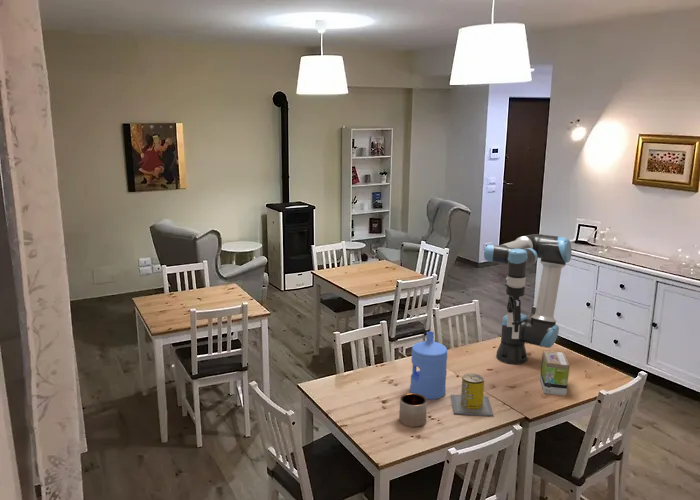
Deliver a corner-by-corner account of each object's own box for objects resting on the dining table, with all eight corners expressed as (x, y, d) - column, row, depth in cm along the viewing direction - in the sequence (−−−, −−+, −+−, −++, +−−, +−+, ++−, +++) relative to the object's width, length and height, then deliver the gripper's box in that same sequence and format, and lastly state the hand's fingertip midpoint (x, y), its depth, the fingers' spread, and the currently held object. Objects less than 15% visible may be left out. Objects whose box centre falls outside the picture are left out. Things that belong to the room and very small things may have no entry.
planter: (397, 414, 238) (397, 393, 235) (423, 413, 239) (424, 392, 236) (401, 428, 227) (402, 406, 225) (428, 427, 228) (429, 405, 226)
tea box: (567, 396, 255) (570, 365, 252) (543, 393, 257) (546, 362, 254) (561, 381, 269) (564, 351, 266) (539, 379, 271) (542, 349, 268)
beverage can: (468, 397, 251) (470, 371, 249) (486, 404, 245) (488, 378, 242) (456, 403, 245) (458, 377, 242) (474, 411, 239) (476, 384, 236)
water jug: (448, 387, 262) (451, 328, 256) (441, 402, 248) (445, 341, 241) (414, 381, 267) (416, 324, 261) (406, 396, 253) (408, 336, 246)
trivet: (450, 396, 254) (450, 394, 253) (487, 398, 252) (488, 396, 252) (453, 414, 238) (454, 412, 238) (493, 416, 237) (493, 414, 237)
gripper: (502, 276, 257) (499, 321, 262) (511, 294, 233) (508, 343, 238) (519, 277, 257) (516, 322, 262) (530, 295, 232) (526, 344, 238)
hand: (512, 332), depth 250 cm, fingers open, 13 cm apart
